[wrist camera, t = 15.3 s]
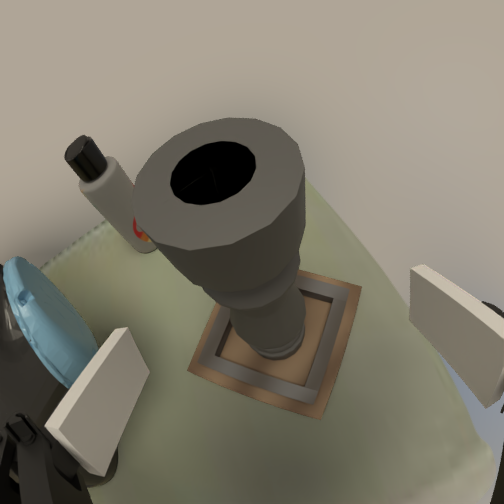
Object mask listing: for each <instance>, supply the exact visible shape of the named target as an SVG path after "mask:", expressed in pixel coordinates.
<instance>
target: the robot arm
mask: <svg viewBox="0 0 504 504" xmlns="http://www.w3.org/2000/svg"><path fill="white" fill-rule="evenodd" d="M409 320H410V321H411V322H412V323H413V325H414V326H415V327H416V328H417V329H418V330H419V331H420V332H421V333H422V334H423V335H424V336H425V338H426V339H427V340H428V341H429V342H430V343H431V344H432V345H433V346H434V347H435V349H436V350H437V351H438V352H439V353H440V354H441V355H442V357H443V358H444V359H445V360H446V361H447V362H448V363H449V365H451V367H452V368H453V369H454V370H455V372H456V373H457V374H458V375H459V376H460V377H461V379H462V380H463V381H464V382H465V384H466V385H467V386H468V387H469V388H470V390H471V391H472V392H473V393H474V394H475V396H476V397H477V398H478V400H479V401H480V402H481V403H482V404H483V406H484V407H485V408H488V407H489V406H491V405H492V404H494V403H495V402H496V401H498V400H499V399H500V398H501V396H502V394H503V392H504V312H502V311H501V310H500V309H499V308H497V307H496V306H495V305H492V304H490V303H486V302H484V301H482V302H480V301H479V300H477V299H476V298H474V297H473V296H471V295H470V294H469V293H467V292H466V291H464V290H463V289H461V288H460V287H458V286H457V285H455V284H454V283H452V282H451V281H449V280H447V279H446V278H444V277H443V276H441V275H440V274H438V273H436V272H435V271H433V270H432V269H430V268H429V267H427V266H425V265H424V264H422V265H419V266H416V267H412V268H410V315H409ZM149 373H150V372H149V370H148V368H147V366H146V364H145V362H144V360H143V358H142V356H141V354H140V352H139V350H138V348H137V346H136V343H135V341H134V339H133V337H132V335H131V333H130V330H129V328H128V327H126V328H118V329H115V330H114V331H113V332H112V334H111V335H110V336H109V338H108V339H107V340H106V341H105V343H104V344H103V345H102V346H101V348H100V349H99V350H98V346H97V343H96V340H95V338H94V336H93V334H92V332H91V330H90V329H89V327H88V326H87V324H86V323H85V321H84V320H83V319H82V317H81V316H80V315H79V313H78V312H77V311H76V309H75V308H74V307H73V306H72V305H71V303H70V302H69V301H68V300H67V299H66V297H65V296H64V295H63V294H62V293H61V292H60V291H59V290H58V288H57V287H56V286H55V285H54V284H53V283H52V282H51V281H50V280H49V279H48V278H47V277H46V276H45V275H44V274H43V273H42V272H41V271H40V270H39V269H38V268H37V267H35V266H34V265H33V264H30V263H29V262H28V261H27V260H26V259H24V258H22V257H19V256H17V257H13V258H12V259H10V260H8V261H6V263H5V265H4V266H3V265H1V264H0V504H93V503H92V500H91V498H90V495H89V492H88V490H87V488H91V487H96V486H99V485H103V484H105V483H107V482H108V481H109V480H110V479H111V478H112V477H113V475H114V473H115V471H116V467H117V459H118V455H117V445H118V443H119V440H120V438H121V436H122V433H123V431H124V429H125V426H126V424H127V422H128V420H129V417H130V415H131V413H132V410H133V408H134V406H135V404H136V402H137V399H138V397H139V395H140V393H141V391H142V388H143V386H144V384H145V382H146V380H147V378H148V375H149ZM503 411H504V405H503V407H502V409H501V413H503ZM490 504H504V444H503V451H502V456H501V462H500V467H499V472H498V476H497V480H496V485H495V488H494V492H493V495H492V499H491V502H490Z"/></svg>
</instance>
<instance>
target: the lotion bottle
mask: <svg viewBox="0 0 504 504" xmlns="http://www.w3.org/2000/svg"><path fill="white" fill-rule="evenodd" d="M65 160H66V162H67V163H68V164H69V165H70V167H71V168H72V169H73V170H74V171H75V173H76V174H77V175H78V176H79V177H80V182H79V189H80V191H81V192H82V193H83V194H84V196H85V197H86V198H87V199H88V200H89V201H90V202H91V203H92V205H93V206H94V207H95V208H96V209H97V210H98V211H99V212H100V213H101V214H102V215H103V216H104V218H105V219H106V220H107V221H108V222H109V223H110V224H111V225H112V226H113V227H114V228H115V229H116V230H117V231H118V232H119V233H120V234H121V235H122V236H123V237H124V238H125V239H126V240H127V241H128V242H129V243H130V244H131V245H132V246H133V247H134V248H135V249H136V250H137V251H139V252H141V253H148V252H151V251H153V250H155V249H156V248H157V247H156V246H155V244H154V243H153V242H152V241H151V240H150V239H149V238H148V236H147V235H146V234H145V233H144V232H143V231H142V230H141V228H140V227H139V226H138V225H137V224H136V220H135V216H134V212H133V208H132V203H131V197H132V193H133V189H134V185H133V183H132V182H131V180H130V179H129V177H128V176H127V175H126V173H125V172H124V170H123V169H122V168H121V166H120V165H119V163H118V162H117V160H116V159H115V158H113V157H109V156H107V157H104V156H103V154H102V153H101V151H100V150H99V148H98V147H97V145H96V144H95V142H94V141H93V139H92V138H91V137H87V136H85V135H82V136H80V137H78V138H77V139H76V140H75V141H74V142H73V143H72V144H71V145H70V146H69V147H68V148H67V150H66V152H65Z"/></svg>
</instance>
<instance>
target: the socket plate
mask: <svg viewBox="0 0 504 504" xmlns="http://www.w3.org/2000/svg"><path fill="white" fill-rule="evenodd" d="M294 284H295V285H296V286H297V287H298V289H299V291H300V292H301V294H302V295H303V297H304V300H305V307H306V317H305V320H304V325H305V336H304V339H303V342H302V346H301V347H300V348H299V349H298V351H297V352H296V353H295V354H294V355H292V356H290V357H289V358H287V359H285V360H276V361H273V360H269V359H266V358H263V357H262V356H261V355H259V354H258V353H257V352H256V351H254V350H253V349H252V348H251V347H250V345H249V344H248V343H246V342H245V341H244V340H243V339H242V338H240V337H239V336H238V335H237V334H236V332H235V330H234V328H233V326H232V324H231V322H230V308H228V307H224V306H221V305H219V304H218V303H217V302H216V304H215V306H214V309H213V311H212V313H211V316H210V318H209V320H208V323H207V325H206V327H205V330H204V332H203V334H202V337H201V339H200V341H199V344H198V346H197V348H196V351H195V353H194V355H193V358H192V360H191V362H190V365H189V367H188V369H187V371H189V372H191V373H193V374H196V375H198V376H200V377H202V378H204V379H207V380H209V381H211V382H213V383H216V384H218V385H220V386H223V387H225V388H228V389H230V390H233V391H235V392H238V393H240V394H243V395H245V396H248V397H251V398H253V399H256V400H259V401H262V402H265V403H267V404H270V405H273V406H276V407H279V408H282V409H285V410H288V411H292V412H295V413H298V414H302V415H305V416H308V417H312V418H316V419H319V420H321V418H322V415H323V413H324V410H325V407H326V405H327V402H328V399H329V397H330V394H331V391H332V388H333V385H334V383H335V380H336V377H337V374H338V371H339V368H340V365H341V361H342V358H343V355H344V352H345V349H346V345H347V342H348V338H349V335H350V331H351V328H352V324H353V320H354V317H355V313H356V309H357V305H358V301H359V297H360V292H361V288H362V287H361V286H358V285H354V284H350V283H346V282H343V281H339V280H335V279H332V278H328V277H324V276H321V275H317V274H313V273H310V272H306V271H302V270H299V269H298V272H297V276H296V279H295V282H294Z"/></svg>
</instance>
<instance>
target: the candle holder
mask: <svg viewBox="0 0 504 504" xmlns="http://www.w3.org/2000/svg"><path fill="white" fill-rule="evenodd" d="M131 203H132V208H133V212H134V216H135V220H136V224H137V225H138V226H139V227H140V228H141V230H142V231H143V232H144V233H145V234H146V235H147V236H148V238H149V239H150V240H151V241H152V242H153V243H154V244H155V246H156V247H157V248H158V249H159V250H160V251H161V252H162V253H163V254H164V256H165V257H166V258H167V259H168V260H169V261H170V262H171V263H172V264H173V265H174V267H175V268H176V269H178V270H179V271H180V272H181V273H182V274H183V275H184V276H185V277H186V278H187V279H189V280H190V281H191V282H192V283H193V284H195V285H198V286H201V287H202V288H203V290H204V291H205V292H206V293H207V294H208V295H209V296H210V297H211V298H212V299H214V300H215V301H216V302H217V303H218V304H219V305H221V306H224V307H228V308H230V322H231V324H232V326H233V328H234V330H235V332H236V334H237V335H238V336H239V337H240V338H242V339H243V340H244V341H245V342H246V343H248V344H249V345H250V347H251V348H252V349H253V350H254V351H256V352H257V353H258V354H259V355H261V356H262V357H263V358H266V359H269V360H273V361H276V360H285V359H287V358H289V357H290V356H292V355H294V354H295V353H296V352H297V351H298V349H299V348H300V347H301V346H302V342H303V339H304V336H305V325H304V320H305V317H306V307H305V300H304V297H303V295H302V294H301V292H300V291H299V289H298V287H297V286H296V285H295V284H294V282H295V279H296V276H297V272H298V269H299V265H300V256H299V248H300V244H301V240H302V237H303V233H304V229H305V167H304V164H303V160H302V157H301V153H300V150H299V146H298V144H297V143H296V142H295V141H294V140H293V139H292V138H291V137H290V136H288V134H287V133H285V132H284V131H283V130H282V129H281V128H280V127H277V126H274V125H272V124H269V123H266V122H263V121H261V120H257V119H249V118H224V119H219V120H215V121H210V122H206V123H201V124H198V125H196V126H194V127H192V128H190V129H188V130H186V131H184V132H181V133H180V134H178V135H175V136H174V137H172V138H171V139H170V140H169V141H167V142H166V143H165V144H164V145H163V146H161V147H160V148H159V149H158V150H156V151H155V152H154V153H153V154H152V155H151V156H150V158H149V159H148V161H147V162H146V163H145V165H144V166H143V168H142V169H141V171H140V172H139V174H138V175H137V177H136V181H135V185H134V189H133V193H132V197H131Z"/></svg>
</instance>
